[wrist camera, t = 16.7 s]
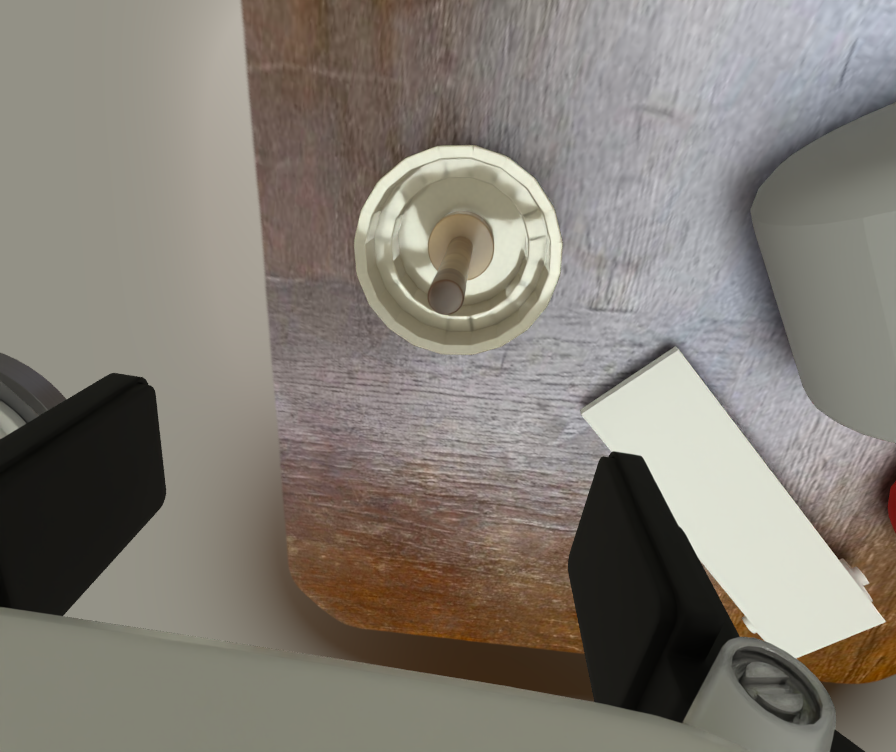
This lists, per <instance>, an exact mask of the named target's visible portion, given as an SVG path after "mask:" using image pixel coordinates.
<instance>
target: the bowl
mask: <svg viewBox="0 0 896 752" xmlns="http://www.w3.org/2000/svg"><path fill="white" fill-rule="evenodd" d="M455 211H470V212H473V213H476V214H478V215H479V216H481V217H482V218H483V219H484V220H485V221H486V222H487V223H488V225H489V226H490V228H491V230H492V233H493V237H494V254H493V258H492V261H491V263H490V265H489V266H488V268H487V269H486V270H485V271H484V272H483V273H482V274H481V275H480V276H478V277H476V278H474V279H471V280H468V281H467V284H466V291H465V297H464V302H463V305H462V307H461V308H460V309H459V310H458V311H457V312H455V313H453V314H450V315H442V314H439V313H437V312H435V311H434V310H433V309H432V308H431V307H430V305H429V303H428V298H427V295H428V291H429V288H430V286H431V284H432V281H433V279H434V277H435V275H436V273H437V270H436V269H435V268H434V266H433V265H432V263H431V261H430V258H429V254H428V241H429V237H430V234H431V232H432V230H433V229H434V227H435V226H436V224H437V223H438V222H439V221H440V220H441V219H442V218H443V217H444V216H446V215H447V214H449V213H452V212H455ZM562 247H563V242H562V236H561V232H560V228H559V224H558V220H557V216H556V212H555V209H554V207H553V205H552V203H551V202H550V200H549V199H548V197H547V196H546V194H545V193H544V191H543V189H542V188H541V186H540V185H539V183H538V182H537V180H536V179H535V178H534V177H533V176H532V175H531V174H529V173H528V172H527V171H525V170H524V169H523V168H522V167H520V166H519V165H518V164H517V163H515V162H514V161H513V160H512V159H510V158H509V157H508V156H506V155H504V154H501V153H498V152H495V151H492V150H489V149H486V148H483V147H480V146H476V145H439V146H435V147H433V148H430V149H427V150H425V151H422V152H419V153H417V154H414V155H412V156H409V157H406V158H405V159H403V160H402V161H401V162H400V163H399V164H397V165H396V166H395V167H394V168H393V169H391V170H390V171H389V172H388V173H387V174H386V175H384V176H383V177H382V178H381V179H380V180H379V181H378V182H377V184H376V185H375V187H374V189H373V190H372V192H371V194H370V195H369V197H368V199H367V201H366V202H365V204H364V206H363V207H362V209H361V212H360V216H359V221H358V225H357V230H356V234H355V239H354V251H355V262H356V273H357V277H358V279H359V281H360V284H361V286H362V289H363V291H364V294H365V296H366V298H367V301H368V303H369V305H370V306H371V308H372V309H373V310H374V311H375V312H376V314H377V315H378V316H379V317H380V319H381V320H382V321H383V322H384V323H385V325H386V326H387V327H388V328H389V329H390V330H392V331H393V332H395V333H396V334H398V335H399V336H401V337H402V338H404V339H405V340H407V341H408V342H410V343H411V344H412V345H414V346H417V347H420V348H423V349H427V350H430V351H433V352H436V353H439V354H447V355H472V354H473V355H474V354H478V353H481V352H485V351H488V350H491V349H495V348H498V347H501V346H503V345H505V344H506V343H508V342H509V341H511V340H513V339H514V338H516V337H517V336H519V335H520V334H522V333H523V332H525V331H526V330H527V329H529V328H530V326H531V325H532V324H533V323H534V322H535V320H536V319H537V318H538V317H539V316H540V314H541V313H542V312H543V311H544V310H545V308H546V307H547V306H548V304H549V302H550V299H551V297H552V294H553V292H554V289H555V287H556V284H557V282H558V280H559V277H560V273H561V260H562Z"/></svg>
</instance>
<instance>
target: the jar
mask: <svg viewBox="0 0 896 752" xmlns="http://www.w3.org/2000/svg"><path fill="white" fill-rule="evenodd" d="M750 211H751V217H752V224H753V228H754V231H755V235H756V238H757V241H758V244H759V247H760V251H761V254H762V257H763V260H764V263H765V267H766V270H767V273H768V276H769V280H770V283H771V286H772V289H773V292H774V296H775V299H776V302H777V305H778V308H779V312H780V315H781V318H782V321H783V324H784V328H785V331H786V334H787V337H788V340H789V344H790V347H791V350H792V353H793V357H794V360H795V363H796V366H797V369H798V373H799V376H800V379H801V382H802V385H803V388H804V390H805V392H806V394H807V396H808V397H809V399H810V400H811V401H812V402H813V404H814V405H815V406H816V408H817V409H819V410H820V411H821V412H823V413H824V414H825V415H827V416H828V417H830V418H831V419H832V420H834V421H836V422H838V423H840V424H842V425H843V426H846V427H848V428H850V429H852V430H854V431H857V432H859V433H861V434H864V435H867V436H870V437H874V438H877V439H881V440H884V441H888V442H893V443H895V444H896V103H893V104H891V105H888V106H886V107H883V108H881V109H879V110H876V111H874V112H872V113H869V114H867V115H865V116H863V117H860V118H858V119H856V120H854V121H852V122H850V123H848V124H845V125H843V126H841V127H839V128H837V129H835V130H833V131H832V132H830V133H828V134H826V135H824V136H822V137H820V138H818V139H817V140H815V141H813V142H811V143H810V144H808V145H806V146H805V147H803V148H802V149H800V150H799V151H797V152H796V153H794V154H793V155H791V156H790V157H789V158H787V159H786V160H785V161H784V162H782V163H781V164H780V165H779V166H778V167H777V168H776V170H775V171H774V172H773V173H772V174H771V175H770V176H769V177H768V178H767V179H766V181H765V182H764V183H763V184H762V185H761V186H760V187H759V189H758V192H757V194H756V197H755V199H754V202H753V204H752V207H751V210H750Z"/></svg>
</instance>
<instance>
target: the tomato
mask: <svg viewBox="0 0 896 752" xmlns="http://www.w3.org/2000/svg"><path fill="white" fill-rule="evenodd" d="M888 514H889V519H890V521H891V524H892V526H893V529H894V531H895V533H896V481H895V482H894V484H893V485H892V486H891V488H890V494H889V501H888Z"/></svg>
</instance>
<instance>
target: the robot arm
mask: <svg viewBox="0 0 896 752" xmlns="http://www.w3.org/2000/svg"><path fill="white" fill-rule="evenodd" d="M165 496H166V485H165V477H164V467H163V458H162V450H161V440H160V431H159V422H158V413H157V403H156V395H155V390H154V388H153V387H152V386H149V385H148V383H147V381H146V379H144V378H143V377H137V376H130V375H124V374H118V373H112V374H109V375H107V376H106V377H104V378H102V379H101V380H99V381H97V382H95V383H94V384H92V385H90V386H89V387H87V388H85V389H84V390H82V391H80V392H79V393H77V394H75V395H74V396H72V397H70V398H69V399H67V400H65V401H63V402H62V403H60V404H58V405H57V406H55V407H53V408H52V409H50V410H48V411H47V412H45V413H43V414H42V415H40V416H38V417H37V418H35V419H33V420H32V421H30V422H28V423H26V422H25V421H24V420H23V419H22V418H21V417H20V416H19V415H18V414H17V413H16V412H15V411H14V410H13V409H11V408H10V407H9V406H7V405H6V404H5V403H4V402H2V401H0V752H865V751H863V750H862V749H861V748H859V747H858V746H857V745H855V744H854V743H853V742H851V741H850V740H849V739H847V738H846V737H844V736H843V735H841V734H840V733H839V732H838V731H836V730H835V726H836V714H835V708H834V705H833V703H832V701H831V698H830V696H829V694H828V692H827V691H826V690H825V688H824V687H823V685H822V684H821V682H820V681H819V680H818V678H817V677H816V676H815V675H814V674H813V673H812V672H811V671H810V670H809V669H808V668H807V667H806V666H805V665H804V664H802V663H801V662H800V661H798V660H797V659H796V658H794V657H793V656H791V655H790V654H789V653H787V652H786V651H784V650H782V649H780V648H778V647H776V646H774V645H773V644H771V643H768V642H765V641H762V640H759V639H756V638H748V637H740V636H739V634H738V633H737V631H736V629H735V627H734V625H733V623H732V621H731V619H730V617H729V615H728V614H727V612H726V610H725V608H724V606H723V604H722V602H721V600H720V598H719V597H718V595H717V593H716V591H715V589H714V587H713V585H712V583H711V581H710V579H709V578H708V576H707V574H706V572H705V570H704V568H703V566H702V564H701V562H700V561H699V559H698V557H697V555H696V553H695V551H694V549H693V547H692V545H691V543H690V542H689V540H688V538H687V536H686V534H685V532H684V531H683V530H682V528H681V527H679V526H678V524H677V522H676V520H675V518H674V516H673V514H672V512H671V510H670V508H669V507H668V505H667V503H666V501H665V499H664V497H663V495H662V493H661V491H660V489H659V487H658V485H657V483H656V482H655V480H654V478H653V476H652V474H651V472H650V470H649V468H648V466H647V464H646V462H645V460H644V459H643V457H642V456H640V455H634V454H628V453H622V452H615V451H613V452H611V454H610V455H609V457H601V459H600V460H599V463H598V466H597V469H596V472H595V475H594V478H593V482H592V485H591V488H590V491H589V494H588V497H587V500H586V504H585V507H584V510H583V513H582V516H581V519H580V523H579V526H578V529H577V532H576V535H575V538H574V541H573V545H572V548H571V551H570V554H569V560H568V573H569V578H570V583H571V588H572V593H573V598H574V603H575V608H576V613H577V618H578V623H579V628H580V633H581V638H582V643H583V647H584V652H585V657H586V662H587V667H588V672H589V677H590V682H591V687H592V692H593V697H594V702H590V701H585V700H579V699H574V698H568V697H563V696H556V695H551V694H546V693H540V692H535V691H529V690H524V689H518V688H513V687H507V686H501V685H495V684H489V683H483V682H477V681H470V680H465V679H459V678H452V677H446V676H440V675H434V674H428V673H421V672H416V671H409V670H403V669H397V668H391V667H385V666H379V665H372V664H366V663H360V662H354V661H348V660H341V659H335V658H329V657H323V656H316V655H310V654H304V653H298V652H291V651H284V650H279V649H272V648H266V647H258V646H253V645H246V644H240V643H233V642H228V641H221V640H215V639H208V638H202V637H196V636H189V635H183V634H176V633H170V632H163V631H157V630H150V629H144V628H136V627H130V626H124V625H117V624H111V623H104V622H97V621H91V620H83V619H77V618H71V617H64V616H63V615H64V614H65V613H66V612H67V611H68V610H69V609H70V607H71V606H72V605H73V604H74V603H75V602H76V601H77V600H78V599H79V597H80V596H81V595H82V594H83V593H84V592H85V591H86V590H87V589H88V588H89V586H90V585H91V584H92V583H93V582H94V581H95V580H96V579H97V578H98V576H99V575H100V574H101V573H102V572H103V571H104V570H105V569H106V568H107V567H108V565H109V564H110V563H111V562H112V561H113V560H114V559H115V558H116V557H117V556H118V554H119V553H120V552H121V551H122V550H123V549H124V548H125V547H126V546H127V544H128V543H129V542H130V541H131V540H132V539H133V538H134V537H135V536H136V535H137V533H138V532H139V531H140V530H141V529H142V528H143V527H144V526H145V525H146V524H147V522H148V521H149V520H150V519H151V518H152V517H153V516H154V515H155V513H156V512H157V511H158V510H159V509H160V508H161V506H162V504H163V503H164V500H165Z"/></svg>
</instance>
